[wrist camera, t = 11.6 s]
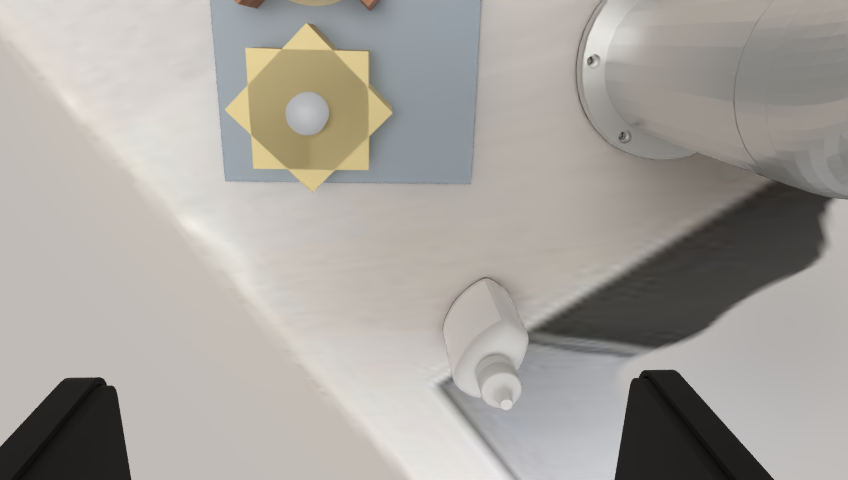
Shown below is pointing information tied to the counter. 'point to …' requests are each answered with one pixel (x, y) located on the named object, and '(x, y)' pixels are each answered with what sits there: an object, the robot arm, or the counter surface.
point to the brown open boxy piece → (256, 0)
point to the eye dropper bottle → (486, 344)
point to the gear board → (399, 71)
